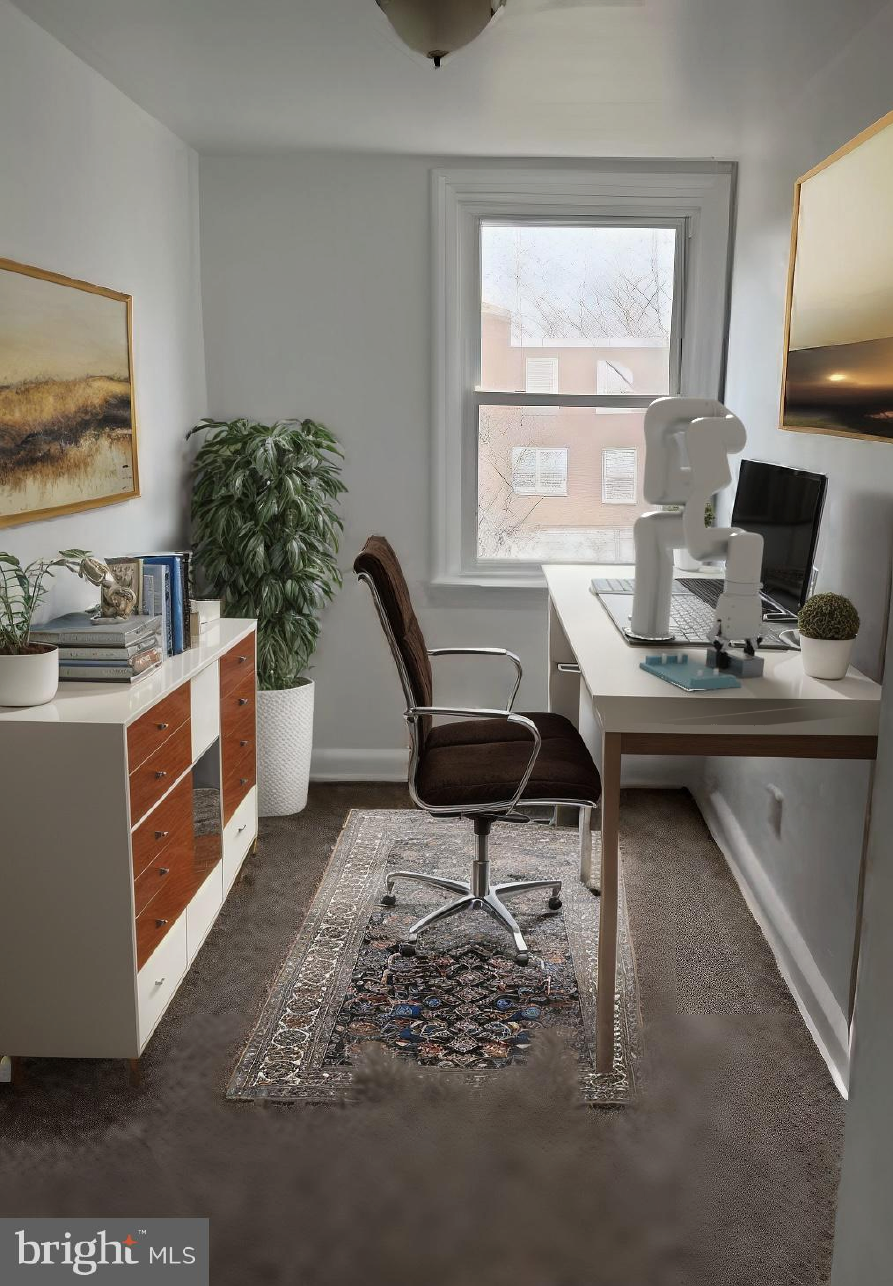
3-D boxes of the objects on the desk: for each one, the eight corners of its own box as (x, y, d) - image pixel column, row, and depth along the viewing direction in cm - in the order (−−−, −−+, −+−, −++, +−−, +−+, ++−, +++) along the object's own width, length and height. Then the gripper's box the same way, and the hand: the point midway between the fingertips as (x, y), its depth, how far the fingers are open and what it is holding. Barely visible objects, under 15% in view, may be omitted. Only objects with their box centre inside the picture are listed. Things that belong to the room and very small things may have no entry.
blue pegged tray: (639, 667, 235) (640, 652, 234) (689, 663, 239) (690, 648, 238) (688, 691, 217) (689, 675, 216) (740, 687, 221) (742, 671, 220)
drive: (705, 665, 238) (707, 648, 237) (726, 662, 241) (727, 645, 240) (741, 678, 228) (743, 660, 227) (762, 676, 230) (764, 658, 229)
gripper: (763, 584, 236) (756, 660, 240) (698, 587, 230) (691, 665, 234) (784, 590, 229) (776, 668, 233) (717, 593, 223) (710, 674, 227)
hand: (734, 666), depth 234 cm, fingers closed on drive, 6 cm apart
